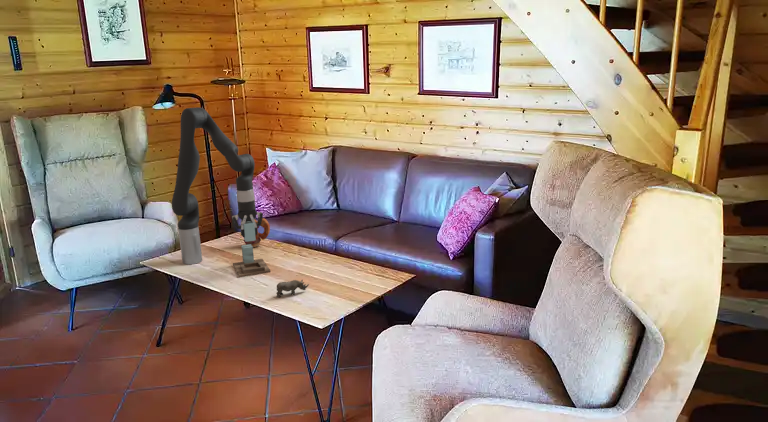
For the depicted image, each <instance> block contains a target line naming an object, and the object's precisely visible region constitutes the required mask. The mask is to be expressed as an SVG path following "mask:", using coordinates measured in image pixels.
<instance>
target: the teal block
mask: <svg viewBox="0 0 768 422" xmlns="http://www.w3.org/2000/svg"><path fill="white" fill-rule="evenodd" d="M244 233H245V237H244V238H243V240H245V241H246V242H248V241H255V240H256V237H255V226H254V223H252V221H251V222H249V221H248V222H245V224H244Z"/></svg>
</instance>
